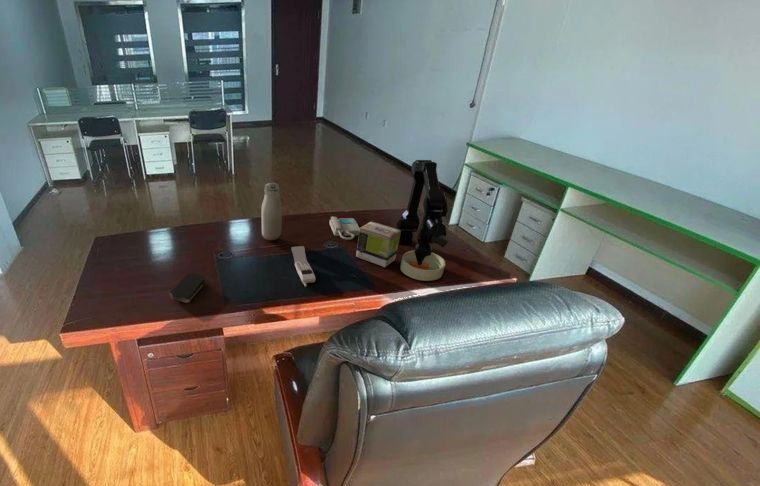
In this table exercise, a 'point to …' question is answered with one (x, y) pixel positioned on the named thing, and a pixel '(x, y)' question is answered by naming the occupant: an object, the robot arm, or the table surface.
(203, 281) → the black sponge
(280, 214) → the white water bottle
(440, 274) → the bowl
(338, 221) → the intercom
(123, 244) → the table surface
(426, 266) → the knife
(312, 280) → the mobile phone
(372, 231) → the tea box
